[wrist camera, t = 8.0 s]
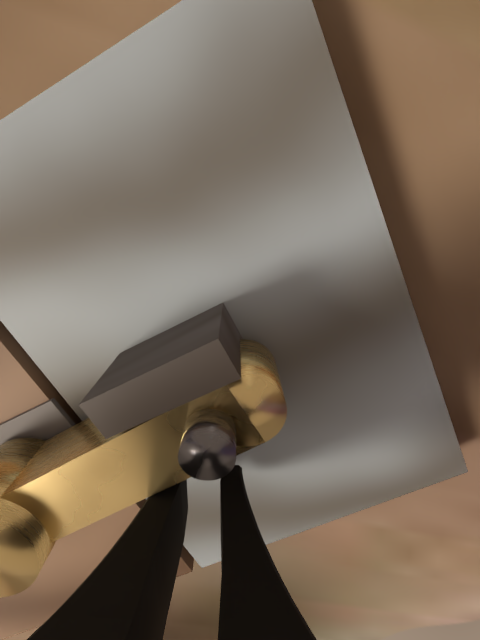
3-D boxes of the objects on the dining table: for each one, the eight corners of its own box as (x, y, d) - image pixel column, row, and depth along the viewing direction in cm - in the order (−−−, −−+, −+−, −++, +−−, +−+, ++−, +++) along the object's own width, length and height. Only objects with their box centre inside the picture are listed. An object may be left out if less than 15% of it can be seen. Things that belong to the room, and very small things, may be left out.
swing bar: (33, 523, 13) (-34, 627, 10) (-34, 463, 12) (-134, 558, 9) (296, 394, 11) (321, 472, 8) (245, 309, 10) (250, 358, 7)
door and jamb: (-338, 365, 12) (-619, 442, 8) (281, -33, 8) (321, -247, 4) (-12, 622, 18) (-84, 742, 14) (449, 450, 14) (533, 546, 10)
